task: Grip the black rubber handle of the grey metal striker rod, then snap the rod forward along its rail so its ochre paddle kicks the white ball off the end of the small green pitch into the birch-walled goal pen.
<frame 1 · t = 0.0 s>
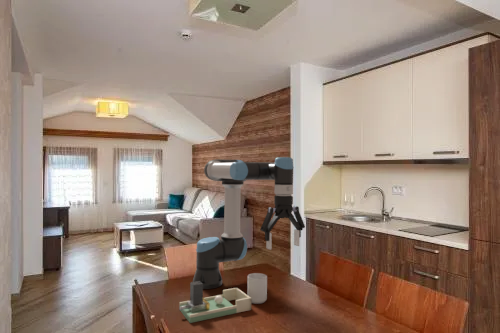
hand: (283, 247, 137), 28 cm above the table, fingers open, 13 cm apart
ball: (218, 300, 143), point 4 cm above the table, touching pitch
mug: (258, 299, 154), on the table
pitch: (207, 311, 140), on the table
striker: (193, 296, 137), point 7 cm above the table, slide at 0.0 cm
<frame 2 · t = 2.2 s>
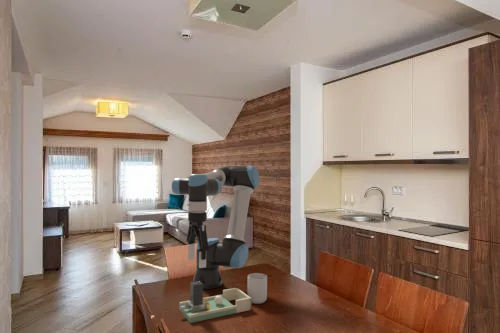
hand: (196, 263, 138), 21 cm above the table, fingers open, 13 cm apart
nothing on the table moved.
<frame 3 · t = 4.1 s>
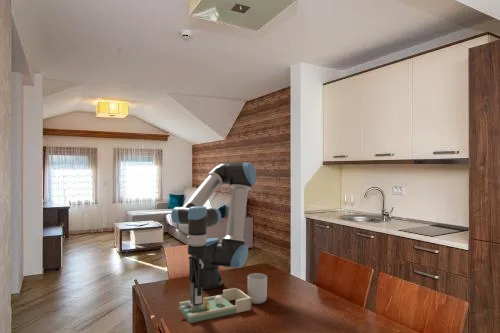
hand: (196, 301, 138), 5 cm above the table, fingers closed on striker, 4 cm apart
striker: (193, 296, 137), point 7 cm above the table, slide at 0.0 cm, touching gripper
everything else where it was.
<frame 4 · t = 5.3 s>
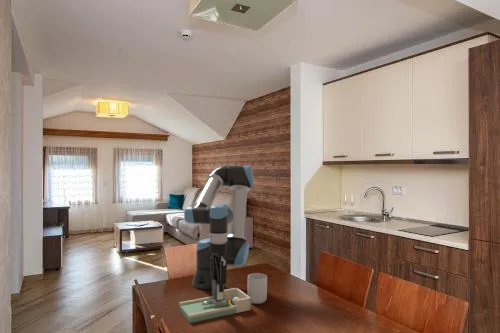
hand: (217, 297, 143), 5 cm above the table, fingers closed on striker, 4 cm apart
ball: (236, 301, 147), point 2 cm above the table, tilted 136°
striker: (214, 292, 142), point 7 cm above the table, slide at 9.6 cm, touching gripper
everything else where it was.
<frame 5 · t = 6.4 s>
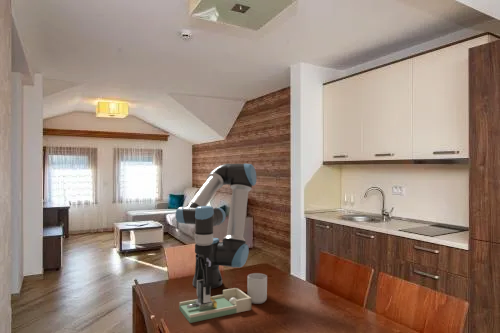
hand: (203, 298, 139), 6 cm above the table, fingers open, 7 cm apart
ball: (233, 301, 146), point 2 cm above the table, tilted 174°
striker: (200, 294, 139), point 7 cm above the table, slide at 3.2 cm
everything else where it was.
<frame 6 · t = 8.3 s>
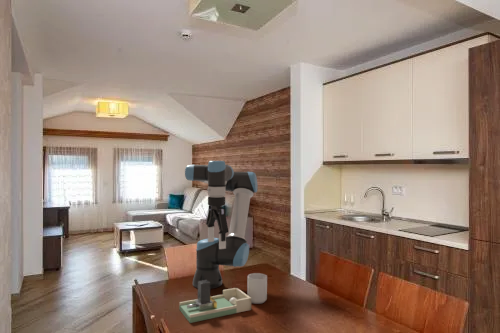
hand: (216, 245, 146), 27 cm above the table, fingers open, 13 cm apart
nothing on the table moved.
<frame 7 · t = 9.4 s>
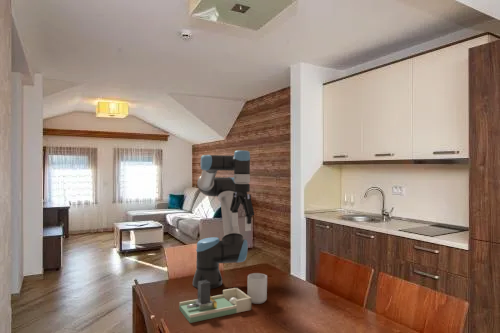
hand: (241, 228, 158), 32 cm above the table, fingers open, 13 cm apart
nothing on the table moved.
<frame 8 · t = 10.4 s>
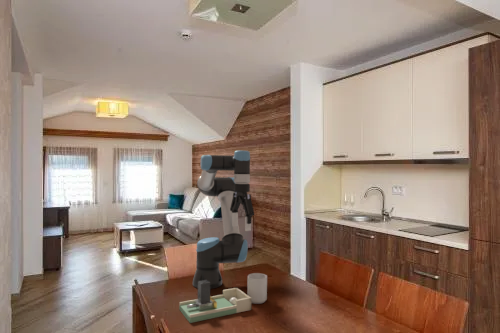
hand: (241, 228, 158), 32 cm above the table, fingers open, 13 cm apart
nothing on the table moved.
at the end: ball inside the target area (1.0 cm from its centre), point 1.8 cm above the table; ball touching table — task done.
